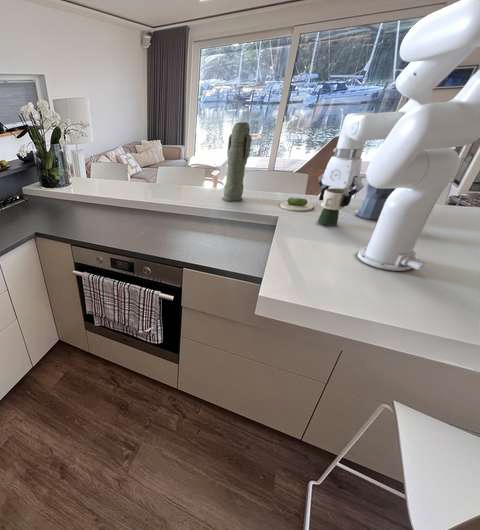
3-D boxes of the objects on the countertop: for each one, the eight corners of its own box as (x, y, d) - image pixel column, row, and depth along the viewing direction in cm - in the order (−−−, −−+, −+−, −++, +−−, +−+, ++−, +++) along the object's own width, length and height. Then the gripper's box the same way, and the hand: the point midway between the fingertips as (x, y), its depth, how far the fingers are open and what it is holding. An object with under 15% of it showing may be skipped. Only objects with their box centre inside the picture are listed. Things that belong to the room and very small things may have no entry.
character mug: (325, 218, 116) (334, 186, 109) (344, 223, 110) (355, 189, 104) (309, 224, 111) (318, 191, 105) (328, 230, 106) (339, 195, 100)
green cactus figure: (236, 203, 139) (247, 123, 122) (217, 198, 148) (224, 123, 131) (248, 199, 143) (259, 121, 126) (228, 195, 152) (236, 122, 135)
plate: (320, 208, 126) (320, 206, 125) (295, 213, 123) (296, 211, 123) (296, 200, 137) (296, 198, 136) (273, 204, 134) (273, 203, 134)
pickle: (307, 205, 128) (309, 198, 126) (305, 207, 126) (307, 200, 125) (287, 202, 133) (289, 196, 131) (285, 204, 131) (287, 197, 130)
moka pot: (371, 210, 119) (390, 160, 110) (399, 223, 106) (423, 168, 96) (347, 211, 121) (363, 161, 111) (371, 224, 107) (392, 169, 98)
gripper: (317, 151, 105) (305, 198, 113) (365, 158, 90) (347, 211, 99) (333, 149, 106) (320, 195, 115) (383, 155, 92) (364, 208, 100)
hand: (333, 202), depth 107 cm, fingers open, 8 cm apart
